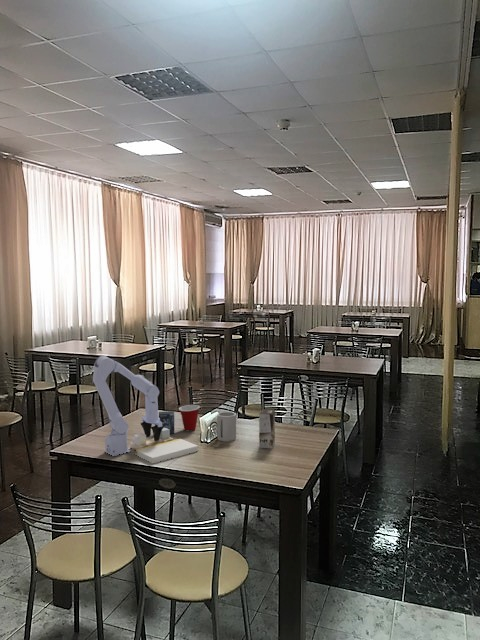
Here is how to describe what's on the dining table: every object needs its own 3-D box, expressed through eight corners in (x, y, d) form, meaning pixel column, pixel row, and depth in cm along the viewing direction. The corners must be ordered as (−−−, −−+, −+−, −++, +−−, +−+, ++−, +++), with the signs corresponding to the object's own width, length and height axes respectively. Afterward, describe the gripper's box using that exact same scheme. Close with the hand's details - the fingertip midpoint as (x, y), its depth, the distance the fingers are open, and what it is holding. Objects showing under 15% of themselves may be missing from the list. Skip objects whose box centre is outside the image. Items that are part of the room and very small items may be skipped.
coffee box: (272, 448, 240) (272, 414, 239) (258, 448, 241) (258, 413, 240) (275, 442, 249) (275, 409, 248) (261, 441, 250) (261, 408, 249)
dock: (152, 463, 221) (152, 457, 221) (135, 455, 232) (135, 449, 231) (198, 451, 237) (198, 445, 237) (180, 443, 248) (180, 438, 247)
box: (158, 435, 262) (158, 414, 261) (159, 431, 267) (158, 411, 266) (174, 434, 263) (174, 413, 262) (174, 431, 268) (174, 410, 268)
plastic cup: (177, 427, 274) (176, 405, 273) (197, 425, 278) (197, 403, 277) (181, 433, 264) (180, 410, 263) (202, 431, 267) (201, 408, 266)
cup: (237, 435, 260) (236, 411, 259) (235, 441, 251) (234, 416, 250) (218, 435, 261) (218, 411, 260) (216, 440, 252) (216, 416, 251)
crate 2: (162, 439, 245) (162, 431, 245) (157, 437, 248) (157, 429, 248) (169, 437, 248) (169, 429, 247) (164, 435, 251) (164, 427, 250)
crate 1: (138, 445, 236) (138, 436, 236) (134, 443, 239) (133, 434, 239) (146, 443, 239) (146, 435, 239) (141, 441, 242) (141, 433, 242)
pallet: (140, 453, 234) (140, 447, 234) (130, 448, 241) (130, 442, 241) (173, 444, 246) (173, 438, 246) (163, 440, 253) (163, 434, 253)
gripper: (167, 411, 240) (168, 440, 241) (150, 405, 250) (151, 433, 252) (154, 414, 235) (155, 444, 236) (137, 408, 246) (138, 436, 247)
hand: (152, 438), depth 243 cm, fingers open, 7 cm apart
